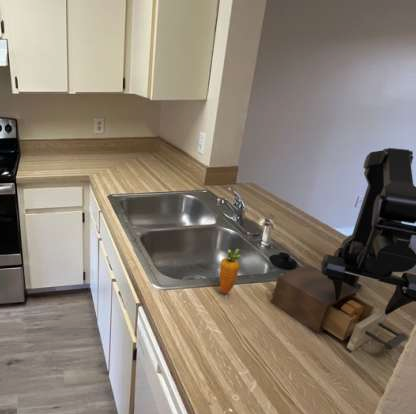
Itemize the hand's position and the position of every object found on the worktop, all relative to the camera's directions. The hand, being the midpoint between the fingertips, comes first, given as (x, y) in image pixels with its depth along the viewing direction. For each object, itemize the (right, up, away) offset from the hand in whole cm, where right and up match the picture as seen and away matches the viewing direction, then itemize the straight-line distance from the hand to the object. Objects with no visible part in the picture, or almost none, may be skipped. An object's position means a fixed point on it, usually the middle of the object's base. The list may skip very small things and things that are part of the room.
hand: (360, 306), depth 77 cm
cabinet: (-5, -4, +12) cm, 13 cm away
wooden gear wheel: (+1, -3, +3) cm, 4 cm away
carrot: (-25, -2, +18) cm, 31 cm away
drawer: (0, -7, +3) cm, 8 cm away
